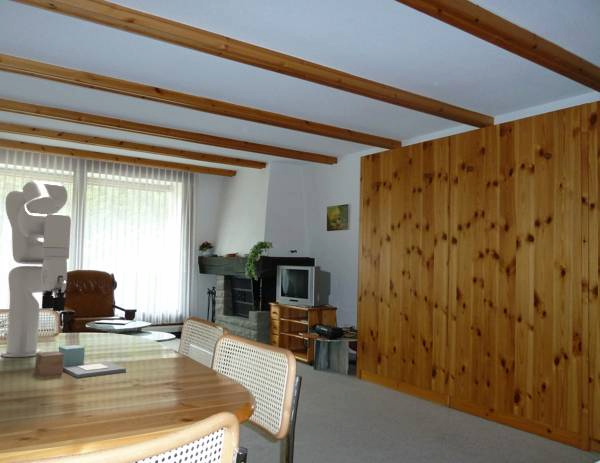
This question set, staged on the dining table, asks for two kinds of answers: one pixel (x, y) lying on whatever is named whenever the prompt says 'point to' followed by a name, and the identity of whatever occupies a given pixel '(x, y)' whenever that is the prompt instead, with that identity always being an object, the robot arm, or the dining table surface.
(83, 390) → the dining table surface
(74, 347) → the teal block
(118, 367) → the grey flat slab
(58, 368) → the walnut block
